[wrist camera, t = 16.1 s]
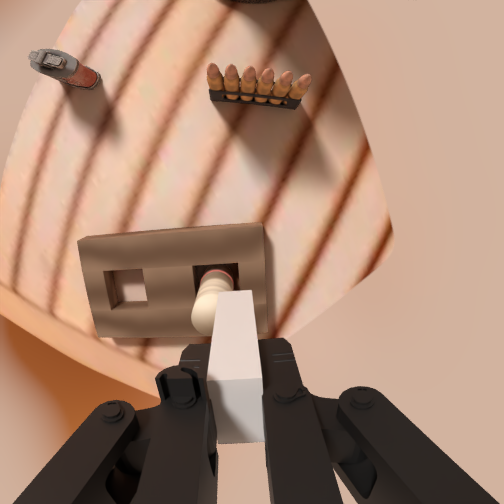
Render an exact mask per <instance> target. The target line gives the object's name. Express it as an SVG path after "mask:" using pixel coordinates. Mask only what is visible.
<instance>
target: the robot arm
mask: <svg viewBox="0 0 504 504" xmlns="http://www.w3.org/2000/svg"><path fill="white" fill-rule="evenodd" d="M231 1H236V2H241V3H266V2H272V1H276V0H231ZM155 380H156V384H157V388H158V391H159V395H160V398H161V403H160V405H158V406H156V407H152V408H148V409H143V410H138V411H135V410H134V408H133V406H132V405H131V404H129V403H127V402H125V401H119V400H113V401H107V402H105V403H103V404H100V405H99V406H98V407H97V408H95V409H94V411H93V412H92V413H91V414H90V415H89V416H88V417H87V419H86V420H85V421H84V422H83V423H82V424H81V426H79V428H78V429H77V430H76V431H75V432H74V433H73V434H72V436H71V437H70V438H69V439H68V440H67V441H66V443H65V444H64V445H63V446H62V447H61V448H60V449H59V451H58V452H57V453H56V454H55V455H54V456H53V458H52V459H51V460H50V461H49V462H48V463H47V464H46V466H45V467H44V468H43V469H42V470H41V471H40V472H39V474H38V475H37V476H36V477H35V478H34V479H33V481H32V482H31V483H30V484H29V485H28V486H27V488H26V489H25V490H24V491H23V492H22V493H21V495H20V496H19V497H18V498H17V499H16V501H15V502H14V503H13V504H217V480H218V453H217V448H216V443H217V440H218V444H232V443H233V444H234V443H253V442H265V452H266V467H267V473H268V483H269V491H270V501H271V504H343V501H342V498H341V494H340V491H339V487H338V484H337V480H336V477H335V474H334V471H333V468H334V470H335V471H336V473H337V474H338V476H339V477H340V479H341V480H342V482H343V483H344V484H345V486H346V487H347V489H348V490H349V491H350V493H351V494H352V496H353V497H354V499H355V500H356V502H357V503H358V504H499V503H498V502H497V501H496V500H495V499H494V498H493V497H492V496H491V495H490V494H489V493H487V492H486V491H485V490H484V489H483V488H482V487H481V486H480V485H479V484H478V483H476V481H474V480H473V479H472V478H471V477H470V476H469V475H468V474H467V473H466V472H465V471H464V470H463V469H461V468H460V467H459V466H458V465H457V464H456V463H455V462H454V461H453V460H452V459H451V458H450V457H449V456H447V455H446V454H445V453H444V452H443V451H442V450H441V449H440V448H439V447H438V446H437V445H436V444H435V443H433V442H432V441H431V440H430V439H429V438H428V437H427V436H426V435H425V434H424V433H423V432H422V431H421V430H420V429H419V428H418V427H416V426H415V425H414V424H413V423H412V422H411V421H410V420H409V419H408V418H407V417H406V416H405V415H404V414H403V413H402V412H401V411H399V410H398V408H396V407H395V406H394V405H393V404H392V403H391V402H390V401H389V400H388V399H387V398H386V397H385V396H384V395H383V394H382V393H380V392H379V391H377V390H376V389H373V388H370V387H361V386H358V387H353V388H349V389H347V390H346V391H344V392H343V393H342V394H341V395H340V397H339V399H330V398H322V397H318V396H315V395H313V394H311V393H310V392H309V391H308V389H307V388H306V387H304V386H303V384H302V380H301V377H300V374H299V370H298V367H297V364H296V360H295V357H294V354H293V350H292V347H291V344H290V343H289V342H288V341H287V340H285V339H284V338H274V339H261V340H258V339H257V331H256V322H255V314H254V305H253V297H252V290H242V291H226V292H219V293H218V300H217V307H216V314H215V321H214V328H213V335H212V342H211V343H210V344H189V345H188V346H187V347H186V348H185V349H184V350H183V351H182V354H181V358H180V361H179V365H177V366H172V367H169V368H166V369H164V370H162V371H161V372H159V373H158V375H157V376H156V378H155Z"/></svg>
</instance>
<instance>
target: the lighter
mask: <svg viewBox="0 0 504 504" xmlns="http://www.w3.org/2000/svg"><path fill="white" fill-rule="evenodd" d="M28 59H30V60H31V63H30V64H31V67H32V68H33V69H35V70H36V71H38V72H40V73H42V74H45V75H47V76H50V77H52V78H54V79H56V80H59V81H61V82H63V83H65V84H68V85H70V86H72V87H76V88H80V89H87V90H93V89H95V88H96V87H97V86H98V85H99V83H100V80H101V76H100V74H99V73H98V72H96V71H94V70H93V69H91V68H90V67H87V66H85V65H82V64H81V63H79V61H78V60H77V59H76V58H74V57H72V56H71V55H69V54H67V53H65V52H62V51H59V50H53V49H41V50H38V51H34V50H33V51H31V52H30V54H29V56H28Z"/></svg>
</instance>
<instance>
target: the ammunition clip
mask: <svg viewBox="0 0 504 504" xmlns="http://www.w3.org/2000/svg"><path fill="white" fill-rule="evenodd" d="M273 79H274V72H273V70H272V69H271V68H267V69H266V70H264V72H263V73H262V75H261V77H260V78H259V79H258V80H257V79H256V72H255V69H254V68H253V67H252V66H248V67H247V68H246V69H245V70H244V73H243V76H242V78H239V75H238V73H237V69H236V67H235V66H234V65H233V64H229V65H228V66H227V67H226V70H225V76H224V77H223V76H222V74H221V73H220V71H219V68H218V67H217V65H216V64H214V63H210V64H209V65H208V67H207V81H208V84H209V88H210V89H209V94H210V100H212V101H223V102H235V103H246V104H256V105H264V106H272V107H280V108H287V109H294V110H295V109H296V108H297V106H298V105H299V104H300V102H301V97H302V96H303V95H304V94H305V93H306V92H307V90H308V87H309V85H310V83H311V80H312V77H311V75H310V74H305V75H303V76H301V77H300V78H299V79H298V80H297V81H295V82H294V83H293V85H291V82H292V79H293V74H292V72H291V71H286V72H284V73H283V74H282V75H281V77H280V78H279V79H277V81H276V82H274V81H273ZM240 82H241V84H240ZM256 83H257V87H256ZM273 85H274V86H273ZM255 87H256V88H255ZM272 87H273V89H272ZM271 89H272V90H271Z"/></svg>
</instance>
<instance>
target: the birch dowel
mask: <svg viewBox="0 0 504 504" xmlns="http://www.w3.org/2000/svg"><path fill="white" fill-rule="evenodd" d="M233 279H234V278H233V273H232V271H231V270H230V268H229V267H227V266H226V265H223V264H213V265H211V266H209V267H208V268H207V269H206V270H205V272H204V275H203V277H202V279H201V282H200V288H199V291H198V294H197V297H196V300H195V304H194V307H193V310H192V314H191V320H192V324H193V326H194V327H195V329H196V330H197V331H198V332H200V333H201V334H203V335H206V336H212V335H213V328H214V321H215V314H216V307H217V300H218V293H219V292H226V291H234V281H233Z"/></svg>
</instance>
